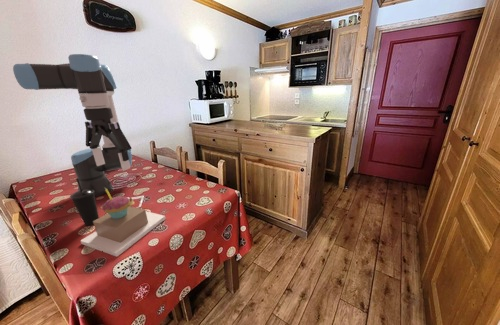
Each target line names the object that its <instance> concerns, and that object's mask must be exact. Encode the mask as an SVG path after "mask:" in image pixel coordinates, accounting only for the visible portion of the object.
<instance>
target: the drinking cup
mask: <svg viewBox="0 0 500 325" xmlns="http://www.w3.org/2000/svg"><path fill="white" fill-rule="evenodd" d="M76 183H77V187H78V186H79V189H80V190H79V191H78V190H76V191H75V192H73V193H71V194H70V195H69V199H71V200H72V203H73V204H74V206H75V208H76V210H77V212H78V214H79V216H80V218H81V219H82V222H83V223H84V226H86V227H90V226H94V224H93V221H95V220H96V219H98V218H100V217H99V212H98V207H97V201H96V196H94V190H93V189H82V188H81V185H80V182H79V179H78V178H77V177H76Z"/></svg>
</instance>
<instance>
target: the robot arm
mask: <svg viewBox="0 0 500 325" xmlns="http://www.w3.org/2000/svg"><path fill="white" fill-rule="evenodd" d="M67 58H68V62H69V63H61V64H60V63H59V64H49V63H48V64H45V63H29V62H27V63H26V62H25V63H15V64H14V65H13V66H12V67H13V68H12V72H13V74H14V78H15V79H16V82H17V83H18V84H19V86H20V87H21V88H23V89H25V90H35V91H36V90H37V91H38V90H77V92H78V94H79V95H78V96H79V101H80V103H81V106H82V107H84V109H83V113H84V117H85V119H86V120H87V121H84V126H85V146H86V149H83V150H79V151H77V152H74V153H73V154H72V155H71V156H70V159H71V165H72V167H73V168H74V173H75V174H76V179H77V178H78V179H79V182H80V185H81V188H82V189H93V190H94V196H95V197H99V196H102V195H105V194H107V192H106V191H105V190H106V189H107V190H108V191H109V192H111V190H112V189H113V185H112V182H111V181H110V179H108V177H107V175H106V172H109V171H115V169H116V170H119V169H121V170H122V171H123V172H124V171H126V170H129V169H131V166H132V164H133V156H132V146H131V144H130V143H129V141H128V139H127V138H126V136H125V134H124V132H123V130H122V128H121V126H120V123H119V119H118V115H117V111H116V108H115V102H114V100H113V95H114V94H115V90H116V89H117V85H116V82H115V80H114V75H112V72H111V69H110V68H109V66H108V65H106V64H101V63H100V60H99V58H98V57H97V56H96V55H92V54H86V53H85V54H84V53H73V54H69V55H68V57H67ZM101 139H102V140H103V139H104V140H103V144H102V145H101V144H100V142H101ZM87 147H89V148H87ZM105 188H106V189H105ZM79 190H80V189H79V186H78V185H77V191H79Z"/></svg>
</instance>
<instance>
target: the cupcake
mask: <svg viewBox="0 0 500 325" xmlns="http://www.w3.org/2000/svg"><path fill="white" fill-rule="evenodd" d="M105 189H106V188H105ZM105 191H106V192H107V193H106V194H107V196H108V198H109V199H107V200H105V202H104V203H103V205H102V207H101V208H102V210H103V212H105V213H106V214H107V213H108V214H109V215H110V216H111V217H112V218H113V219H119V218H122V217H124V216H125V215H126V214H127V208H128V207H129V206H130V200H129V199H128V198H127V197H126V196H123V195H121V196H120V195H119V196H115V197H112V196H111V194H110V191H108V190H107V189H106V190H105Z"/></svg>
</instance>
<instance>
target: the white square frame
mask: <svg viewBox="0 0 500 325" xmlns="http://www.w3.org/2000/svg"><path fill="white" fill-rule="evenodd" d="M144 197H145V195H140V196H134V197H133V196H132V197H128V196H127V197H126V198H128V199H129V200H130V206H131V207H133V205H135V201H134V200H138V199H140V201H139V205H138V206H137V207H136V208H140V209H141V208H142V204H143V202H144V199H145V198H144Z"/></svg>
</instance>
